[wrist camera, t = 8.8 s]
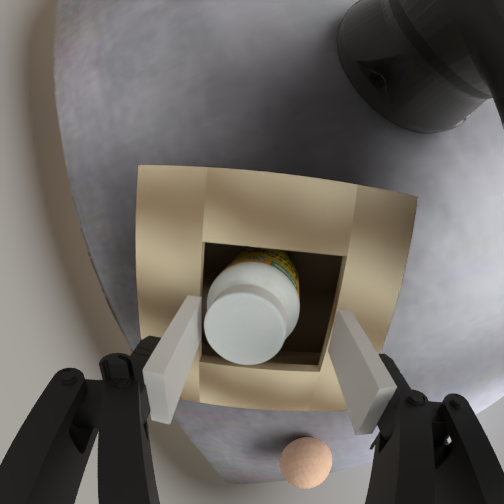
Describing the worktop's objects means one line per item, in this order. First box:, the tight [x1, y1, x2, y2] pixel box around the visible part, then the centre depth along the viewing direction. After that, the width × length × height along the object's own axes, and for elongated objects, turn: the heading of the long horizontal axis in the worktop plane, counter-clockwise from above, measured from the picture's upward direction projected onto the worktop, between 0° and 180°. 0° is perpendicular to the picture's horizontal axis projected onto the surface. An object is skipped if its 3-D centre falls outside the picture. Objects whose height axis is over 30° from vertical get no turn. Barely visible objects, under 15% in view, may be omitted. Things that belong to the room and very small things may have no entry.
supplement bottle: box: [204, 247, 300, 365], centre depth 17 cm, size 5×5×10 cm
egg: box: [280, 437, 332, 489], centre depth 27 cm, size 7×7×8 cm
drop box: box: [136, 165, 418, 411], centre depth 20 cm, size 16×16×9 cm
